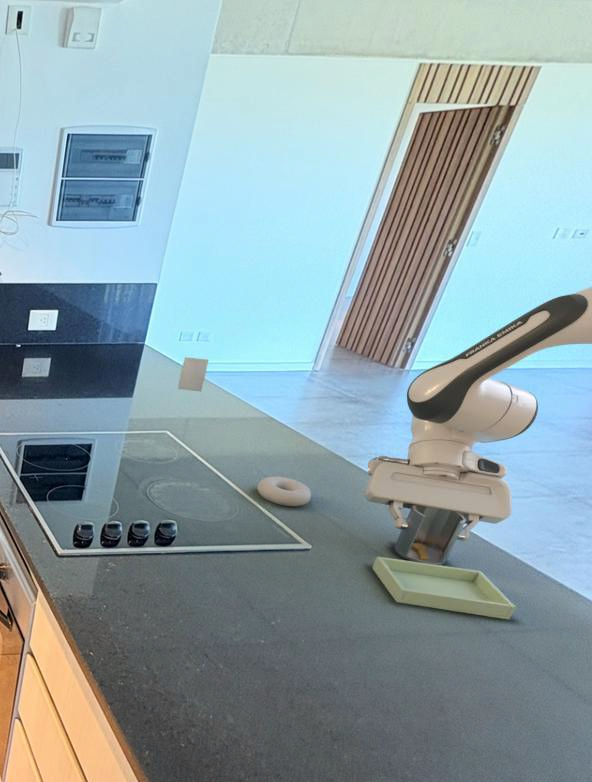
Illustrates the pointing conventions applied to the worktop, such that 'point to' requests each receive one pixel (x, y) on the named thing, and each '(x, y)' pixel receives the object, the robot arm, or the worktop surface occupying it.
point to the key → (420, 550)
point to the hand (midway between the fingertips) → (430, 533)
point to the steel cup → (430, 534)
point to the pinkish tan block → (193, 374)
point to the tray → (442, 587)
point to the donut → (284, 491)
